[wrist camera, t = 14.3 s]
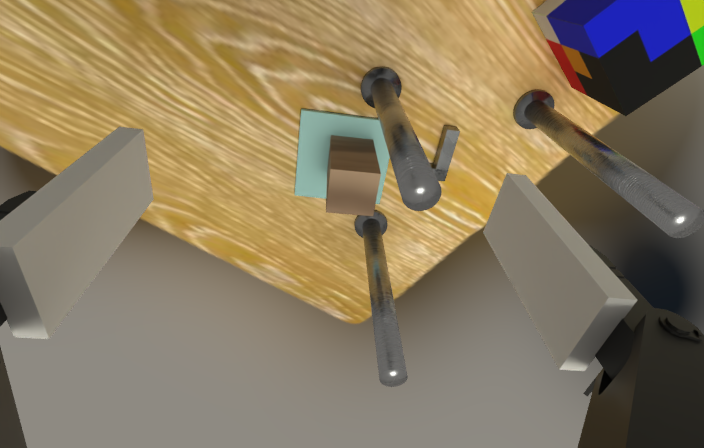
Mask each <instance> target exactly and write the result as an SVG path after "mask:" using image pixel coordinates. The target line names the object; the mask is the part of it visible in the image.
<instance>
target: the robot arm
mask: <svg viewBox="0 0 704 448" xmlns="http://www.w3.org/2000/svg"><path fill="white" fill-rule="evenodd" d="M152 201H153V193H152V186H151V179H150V172H149V166H148V159H147V152H146V145H145V139H144V132H143V130H142V129H134V128H126V127H118V128H117V129H116V130H115V131H113V132H112V133H111V134H110V135H108V136H107V137H106V138H104V139H103V140H102V141H101V142H99V143H98V144H97V145H96V146H94V147H93V148H92V149H90V150H89V151H88V152H87V153H85V154H84V155H83V156H82V157H80V158H79V159H78V160H76V161H75V162H74V163H73V164H71V165H70V166H69V167H68V168H66V169H65V170H64V171H63V172H61V173H60V174H59V175H57V176H56V177H55V178H54V179H52V180H51V181H50V182H49V183H47V184H46V185H45V186H43V187H42V188H41V189H40V190H39V191H37V192H36V191H28V192H26V193H23V194H21V195H18V196H16V197H13V198H11V199H8V200H7V201H6V202H4V203H3V204H2V205H0V326H1V325H2V324H3V323H4V322H5V321H6V320H7V322H8V324H9V326H10V328H11V330H12V332H13V335H14V337H25V338H39V339H50V338H51V336H52V335H53V334H54V332H55V331H56V330H57V328H58V327H59V326H60V324H61V323H62V321H63V320H64V319H65V318H66V316H67V315H68V313H69V312H70V311H71V309H72V308H73V307H74V305H75V304H76V303H77V301H78V300H79V299H80V297H81V296H82V295H83V293H84V292H85V291H86V289H87V288H88V286H89V285H90V284H91V283H92V281H93V280H94V278H95V277H96V276H97V275H98V273H99V272H100V270H101V269H102V268H103V266H104V265H105V264H106V262H107V261H108V260H109V258H110V257H111V256H112V254H113V253H114V252H115V250H116V249H117V248H118V246H119V245H120V244H121V242H122V241H123V240H124V238H125V237H126V235H127V234H128V233H129V231H130V230H131V229H132V227H133V226H134V225H135V223H136V222H137V220H138V219H139V218H140V217H141V215H142V214H143V213H144V211H145V210H146V209H147V207H148V206H149V205H150V203H151V202H152ZM483 233H484V235H485V237H486V238H487V240H488V242H489V244H490V246H491V247H492V249H493V251H494V252H495V255H496V256H497V258H498V260H499V262H500V264H501V266H502V267H503V269H504V271H505V273H506V274H507V276H508V278H509V280H510V282H511V284H512V285H513V287H514V289H515V291H516V293H517V294H518V296H519V298H520V300H521V302H522V303H523V305H524V307H525V309H526V310H527V312H528V314H529V316H530V318H531V320H532V321H533V323H534V325H535V327H536V329H537V330H538V332H539V334H540V336H541V338H542V340H543V341H544V343H545V345H546V347H547V349H548V350H549V352H550V354H551V356H552V358H553V359H554V361H555V363H556V365H557V367H558V368H559V370H574V371H585V370H586V369H587V367H588V366H589V365H590V363H591V362H592V361H593V359H594V358H595V357H596V358H597V359H598V361H599V362H600V364H601V365H602V367H603V369H602V370H601V372H600V373H599V374H598V376H597V377H596V378H595V379H594V381H593V382H592V383H591V384H590V386H589V387H588V388H587V390H586V391H585V392H584V394H585V395H586V396H588V395H589V394H590V393H591V392H592V396H591V399H590V403H589V407H588V411H587V415H586V418H585V422H584V426H583V429H582V433H581V437H580V441H579V444H578V448H704V335H703V334H702V333H701V331H700V330H699V329H698V328H697V327H696V326H694V325H693V324H692V323H691V322H689V321H688V320H686V319H685V318H683V317H681V316H679V315H677V314H675V313H673V312H670V311H667V310H663V309H657V308H655V309H654V308H653V307H652V306H651V305H650V304H649V303H648V302H647V301H646V299H644V297H643V296H642V295H641V294H640V293H639V292H638V291H637V290H636V289H635V288H634V286H633V285H632V284H631V283H630V282H629V281H628V280H627V279H624V276H623V274H622V273H621V272H620V271H619V270H616V267H615V266H614V265H613V264H612V263H611V261H609V259H608V258H607V257H606V256H605V255H603V254H602V253H600V252H599V251H598V250H596V249H595V248H593V247H592V246H589V245H588V244H587V243H586V242H585V241H584V240H583V239H582V237H581V236H580V235H579V234H578V233H577V232H576V231H575V230H574V228H573V227H572V226H571V225H570V224H569V223H568V222H567V221H566V220H565V219H564V217H563V216H562V215H561V214H560V213H559V212H558V211H557V210H556V208H555V207H554V206H553V205H552V204H551V203H550V202H549V201H548V200H547V198H546V197H545V196H544V195H543V194H542V193H541V192H540V191H539V190H538V189H537V188H536V186H535V185H534V184H533V183H532V182H531V181H530V179H529V178H528V177H527V176H526V175H518V174H510V173H507V174H506V177H505V179H504V182H503V184H502V187H501V189H500V192H499V194H498V197H497V199H496V202H495V204H494V207H493V209H492V212H491V214H490V217H489V219H488V222H487V224H486V227H485V229H484V232H483ZM0 448H27V446H26V442H25V438H24V434H23V431H22V427H21V423H20V419H19V415H18V412H17V408H16V404H15V400H14V397H13V393H12V389H11V385H10V382H9V378H8V374H7V370H6V366H5V363H4V359H3V355H2V351H1V348H0Z"/></svg>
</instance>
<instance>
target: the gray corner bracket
mask: <svg viewBox="0 0 704 448" xmlns="http://www.w3.org/2000/svg"><path fill="white" fill-rule="evenodd" d="M459 133H460V131H459V129H458V128H457V127H454V126H447V125H444V128H443V132H442V135H441V139H440V142H439V146H438V149H437V153H436V156H435V160H434V163H433V164H431V163H430V165H431V168H432V170H433V172H434V174H435V176H436V178H437V180H438V181H445V178H446V175H447V172H448V168H449V165H450V162H451V159H452V155H453V152H454V149H455V146H456V143H457V139H458V136H459Z"/></svg>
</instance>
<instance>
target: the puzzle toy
mask: <svg viewBox="0 0 704 448" xmlns="http://www.w3.org/2000/svg"><path fill="white" fill-rule="evenodd" d="M532 13H533V15H534V17H535V19H536V21H537V23H538V25H539V27H540V28H541V30H542V32H543V34H544V36H545V38H546V40H547V42H548V43H549V45H550V47H551V49H552V51H553V53H554V55H555V57H556V58H557V60H558V62H559V64H560V66H561V68H562V70H563V72H564V73H565V75H566V77H567V79H568V81H569V83H570V85H571V87H572V88H574V89H576V90H578V91H580V92H582V93H583V94H585V95H587V96H589V97H591V98H593V99H595V100H597V101H598V102H600V103H602V104H604V105H606V106H608V107H610V108H612V109H613V110H615V111H617V112H619V113H621V114H623V115H625V116H627V115H628V114H630V113H631V112H633V111H634V110H636V109H637V108H639V107H640V106H642V105H643V104H645V103H646V102H648V101H649V100H651V99H652V98H654V97H656V96H657V95H658V94H660V93H661V92H663V91H665V90H666V89H668V88H669V87H671V86H672V85H674V84H675V83H677V82H678V81H680V80H681V79H682V78H684V77H686V76H687V75H689V74H690V73H692V72H693V71H695V70H696V69H698V68H699V67H701V66H702V65H704V0H546V1H545V2H544V3H543V4H541V5H540V6H539V7H538V8H537V9H535V10H534V11H533V12H532Z"/></svg>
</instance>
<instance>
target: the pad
mask: <svg viewBox="0 0 704 448" xmlns="http://www.w3.org/2000/svg"><path fill="white" fill-rule="evenodd" d="M331 135H335V136H344V137H354V138H363V139H373V141H374V146H375V150H376V154H377V159H378V163H379V167H380V172H381V177H380V182H379V187H378V193H377V198H376V204H380V199H381V195H382V190H383V185H384V181H385V176H386V172H387V167H388V162H389V158H390V156H389V152H388V149H387V145H386V142H385V139H384V135H383V132H382V128H381V125H380V122H379V119H377V118H370V117H362V116H355V115H347V114H339V113H332V112H324V111H317V110H309V109H301V120H300V133H299V146H298V158H297V171H296V184H295V195H298V196H307V197H316V198H326V190H327V167H328V158H329V148H330V138H331Z"/></svg>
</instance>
